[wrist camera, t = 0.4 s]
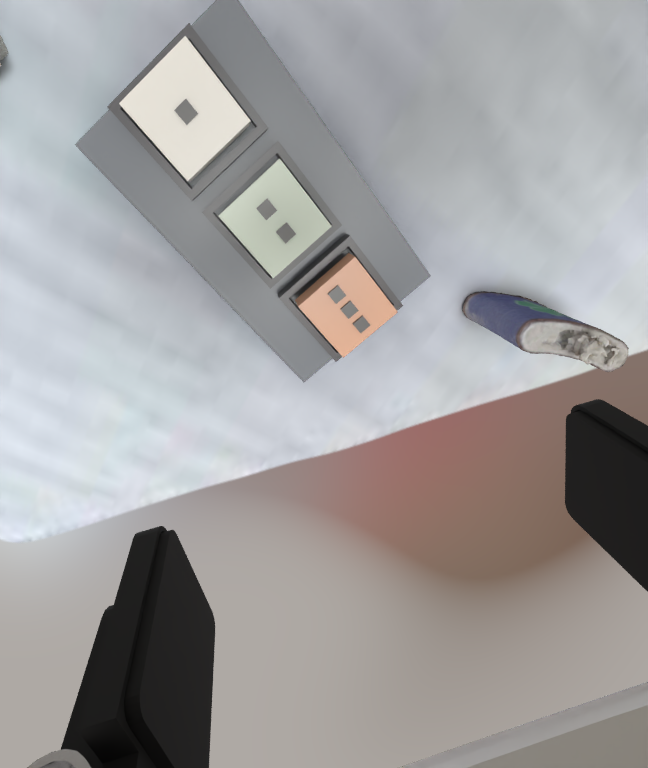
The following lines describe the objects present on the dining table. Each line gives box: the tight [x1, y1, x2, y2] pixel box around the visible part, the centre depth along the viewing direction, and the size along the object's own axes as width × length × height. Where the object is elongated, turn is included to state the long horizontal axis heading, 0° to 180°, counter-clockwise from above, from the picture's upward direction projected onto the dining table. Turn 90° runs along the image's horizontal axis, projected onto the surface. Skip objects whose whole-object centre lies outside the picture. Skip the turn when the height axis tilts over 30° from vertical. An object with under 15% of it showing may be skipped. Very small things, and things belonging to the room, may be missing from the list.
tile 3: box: [295, 253, 397, 358], centre depth 32 cm, size 5×5×2 cm
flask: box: [462, 292, 628, 372], centre depth 35 cm, size 9×3×11 cm, turn 75°
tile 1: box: [119, 36, 251, 182], centre depth 26 cm, size 5×5×2 cm
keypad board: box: [75, 0, 430, 382], centre depth 32 cm, size 13×22×3 cm, turn 40°
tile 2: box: [219, 159, 332, 278], centre depth 29 cm, size 5×5×2 cm
